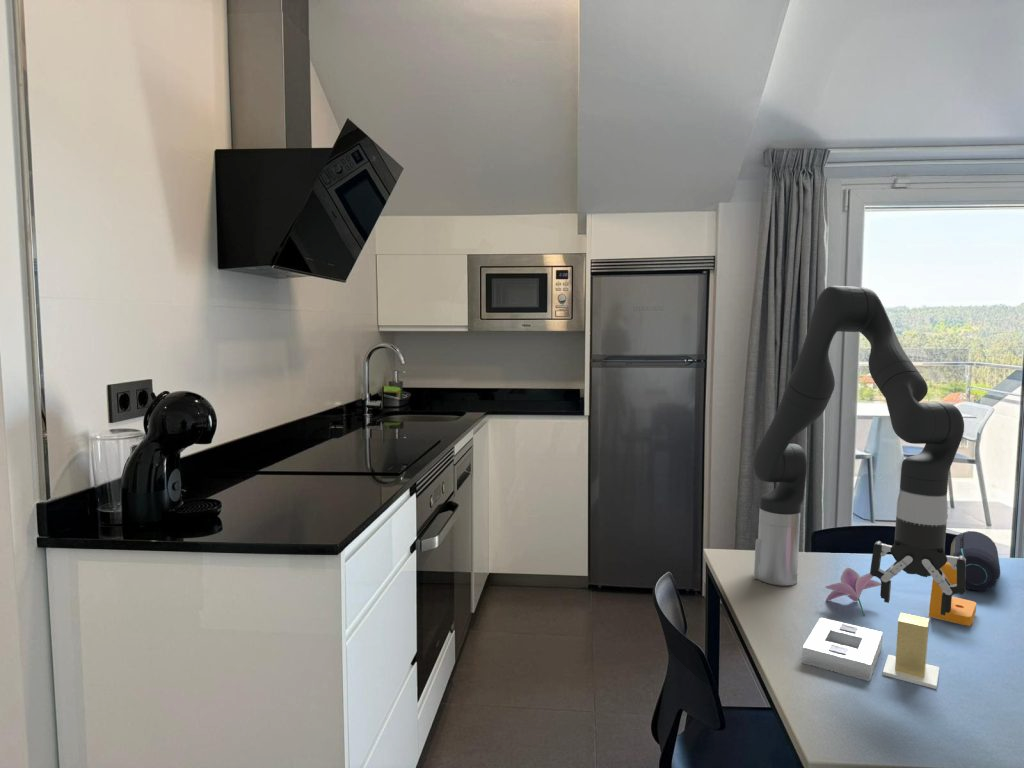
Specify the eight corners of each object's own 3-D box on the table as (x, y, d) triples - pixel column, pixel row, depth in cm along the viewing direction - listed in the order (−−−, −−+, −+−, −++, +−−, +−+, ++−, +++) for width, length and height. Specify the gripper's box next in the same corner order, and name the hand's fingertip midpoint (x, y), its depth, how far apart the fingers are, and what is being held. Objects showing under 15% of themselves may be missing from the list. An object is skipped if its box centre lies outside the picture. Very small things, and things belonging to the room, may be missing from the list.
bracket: (969, 630, 138) (973, 572, 137) (928, 620, 143) (932, 564, 142) (976, 614, 146) (979, 559, 145) (936, 605, 151) (940, 552, 150)
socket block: (801, 662, 123) (802, 645, 122) (819, 631, 136) (820, 616, 136) (869, 681, 116) (870, 663, 116) (881, 647, 129) (882, 631, 129)
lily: (890, 612, 149) (875, 568, 153) (894, 610, 139) (878, 562, 143) (832, 621, 153) (819, 577, 157) (831, 619, 143) (818, 572, 147)
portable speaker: (949, 561, 181) (952, 524, 180) (995, 569, 175) (998, 531, 175) (947, 590, 160) (950, 548, 159) (999, 599, 155) (1002, 557, 154)
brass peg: (895, 670, 119) (898, 620, 119) (897, 660, 123) (900, 612, 122) (924, 677, 117) (927, 627, 116) (925, 667, 120) (929, 618, 120)
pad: (882, 674, 119) (882, 671, 119) (888, 657, 125) (888, 654, 125) (936, 689, 114) (936, 685, 114) (939, 670, 121) (939, 667, 121)
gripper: (872, 514, 119) (866, 604, 120) (970, 529, 111) (962, 626, 112) (877, 505, 125) (872, 591, 126) (971, 519, 117) (963, 610, 118)
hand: (914, 607), depth 119 cm, fingers open, 8 cm apart
